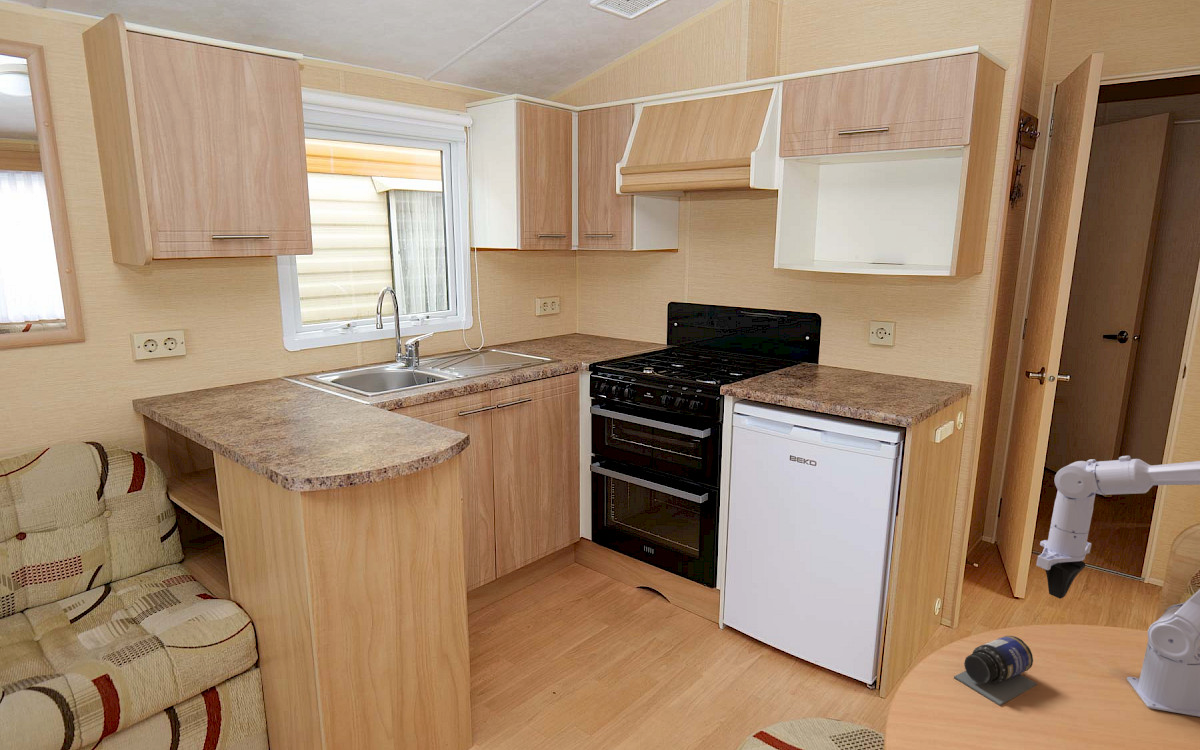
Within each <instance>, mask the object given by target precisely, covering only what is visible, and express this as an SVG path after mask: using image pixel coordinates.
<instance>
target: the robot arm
mask: <svg viewBox="0 0 1200 750" xmlns="http://www.w3.org/2000/svg"><path fill="white" fill-rule="evenodd" d="M1053 482H1054V485H1055V487H1056V490H1057V492H1056V496H1055V499H1054V505H1053V511H1052V516H1051V521H1050V527H1049V531H1048V537H1047V539H1044V540H1041V541H1039V542H1040V543H1039V545H1040V546H1041V547H1043V550H1042V553H1040V554H1039V555H1037V559H1036V567H1039V568H1041V569H1043V570H1044V571H1045V574H1046V580H1047V586H1048V587H1047V588H1048V594H1049V595H1051V596H1054V597H1056V598H1058V599H1059V600H1061V599H1063V598H1064V597H1066V595H1067V594H1068V591H1069V589H1070V588H1071V586H1072V584H1073V582H1074V580H1075V578H1076V577H1077V576H1078V575H1079V574H1080V572H1081V571H1082V570H1084V569H1085V567H1086V563H1085V562H1084V560H1085V559H1086V555H1087V554H1090V553H1091V548H1092V543H1091V542H1088V538H1089V532H1090V529H1091V527H1090V526H1091V522H1092V519H1093V518H1092V517H1093V513H1094V512H1093V511H1094V505H1095V498H1096V494H1097V495H1101V496H1102V495H1103V496H1107V495H1130V494H1131V495H1132V494H1134V495H1135V494H1136V495H1138V494H1146V493H1148V492H1149V491H1150V489H1152V487H1153V486H1189V485H1190V486H1192V485H1193V486H1197V485H1198V486H1200V460H1194V461H1184V462H1175V463H1166V464H1165V463H1164V464H1154V465H1151V464H1149V463H1147V462H1146V461H1143V460H1142V459H1140V458H1132V457H1131V455H1122V456H1119V457H1118V459H1116V460H1115V459H1113V460H1100V461H1097V460H1096V459H1095V458H1093V459H1092V458H1091V459H1088V460H1086V461H1084V460H1078V461H1074V462H1071V463H1069V464H1068V465H1066V466H1063V467H1062V468H1060V469H1059V470H1058V471H1057V472H1056V474H1055V475H1054V481H1053ZM1147 638H1148V639H1147V644H1146V648H1145V649H1146V650H1145V652H1144V658H1143V661H1142V666H1141V671H1140V675H1139V677H1135V676H1127V677H1126V680H1127V681H1128V683H1129V684H1130V685H1131V687H1132V688H1133V689H1134V691H1135V692H1136V694H1137V695H1138V696H1139V698H1140V699H1141V700H1142V701H1143V702H1144V704H1145V706H1147V708H1149V709H1153V710H1160V711H1165V712H1169V713H1170V712H1171V713H1175V714H1182V715H1187V716H1193V717H1199V718H1200V588H1199V589H1198V590H1197V591H1195V593H1194V594H1192V595H1190V597H1189V598H1188V599H1187V600H1186V601H1184V602H1182V603H1177V604H1172V605H1170V606H1168V607H1167V609H1165V611H1164V613H1163V614H1162V615H1161V616H1160V617H1159V618H1158V619H1157V620H1155V621H1154V622H1153V623H1151V624H1150V626H1149V628H1148V630H1147Z"/></svg>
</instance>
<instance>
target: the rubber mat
mask: <svg viewBox="0 0 1200 750" xmlns="http://www.w3.org/2000/svg"><path fill="white" fill-rule="evenodd" d="M953 679H954V680H957V681H958V682H960V683H962V684H964V686H967V687H968V688H969V689H972V690H973V691H975V692H976V693H978V694H980V695H981V696H983V697H984V698H986V699H988V700H989V701H991V702H993V703H995V704H996V705H998V706H999V707H1000V706H1002V705H1004V704H1006V703H1008V702H1009V701H1011V700H1013V699H1014V698H1016V697H1018V696H1020V695H1021V694H1023V693H1025V692H1027V691H1029V690H1030V689H1032V688H1034V687H1035V686H1037V685H1038V683H1037V682H1035V681H1034V680H1032V679H1029V678H1028V677H1026V676H1025V675H1023V674H1022V673H1021V674H1019V675H1016V676H1014V677H1012V678H1009V679H1007V680H1005V681H1002V682H1000V683H990V682H988V683H985V684H980V683H977V682H975V681H974V680H972V679H971V678H970V676H969V675H968V674H967V672H966V670H964V671H962V672H960V673H958V674H956V675H954V676H953Z"/></svg>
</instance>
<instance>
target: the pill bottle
mask: <svg viewBox="0 0 1200 750" xmlns="http://www.w3.org/2000/svg"><path fill="white" fill-rule="evenodd" d="M963 664H964V670H965V671H966V672H967V674H968V675H969V676H970V678H971V679H972V680H974V681H975V682H977V683H980V684H985V683H988V682H990V683H1000V682H1002V681H1005V680H1007V679H1009V678H1012V677H1014V676H1016V675H1019V674H1021V675H1022V674H1023V673H1025V672H1028V670H1030V669H1031V668H1032V666H1033V665H1034V656H1033V653H1032V651H1031V648H1030V647H1029V646H1028V645H1027V643H1025V642H1024V641H1023V640H1022V639H1020V638H1019V637H1017V636H1014V635H1005V636H1002V637H999V638H996V639H994V640H992V641H990V642H989V641H988V642H987V643H984V644H981V645H979V646H977V647H975V648H974V649H973V651H972V653H971V654H969V655H967V656H966V657H965V660H964V663H963Z"/></svg>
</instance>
